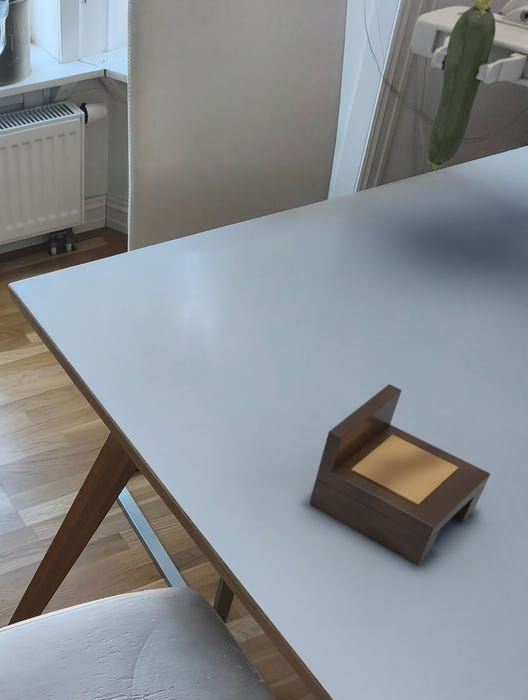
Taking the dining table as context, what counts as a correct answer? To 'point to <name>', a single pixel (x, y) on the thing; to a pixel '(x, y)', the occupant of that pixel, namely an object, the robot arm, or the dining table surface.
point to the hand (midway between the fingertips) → (460, 67)
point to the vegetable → (461, 80)
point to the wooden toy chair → (392, 481)
